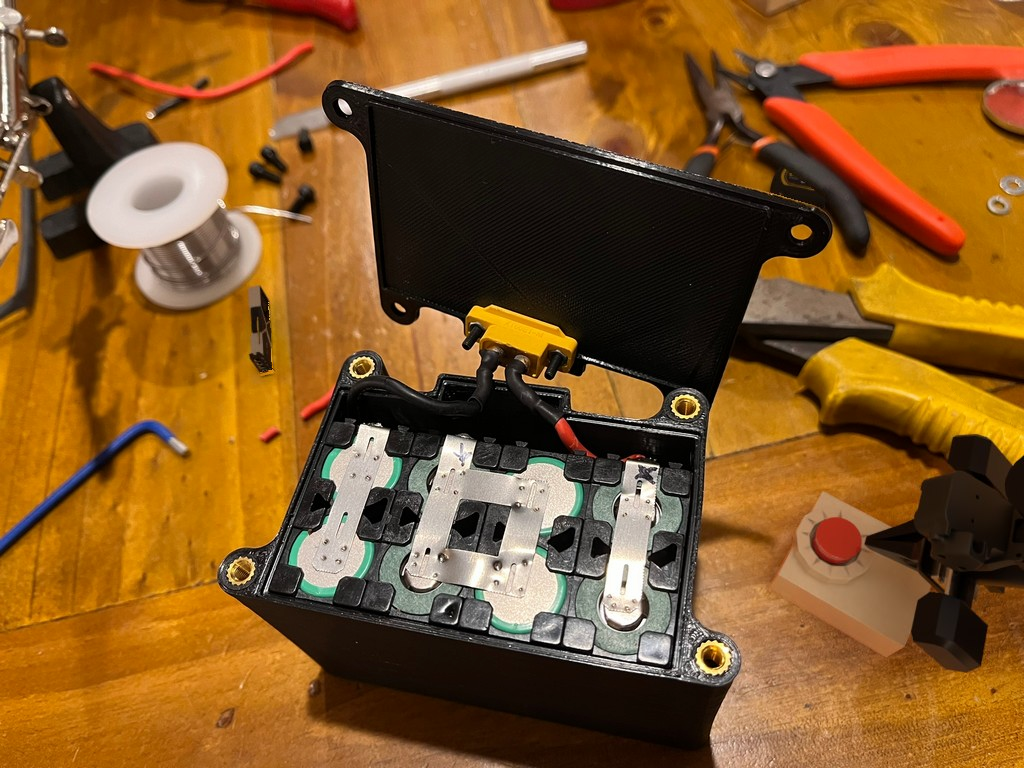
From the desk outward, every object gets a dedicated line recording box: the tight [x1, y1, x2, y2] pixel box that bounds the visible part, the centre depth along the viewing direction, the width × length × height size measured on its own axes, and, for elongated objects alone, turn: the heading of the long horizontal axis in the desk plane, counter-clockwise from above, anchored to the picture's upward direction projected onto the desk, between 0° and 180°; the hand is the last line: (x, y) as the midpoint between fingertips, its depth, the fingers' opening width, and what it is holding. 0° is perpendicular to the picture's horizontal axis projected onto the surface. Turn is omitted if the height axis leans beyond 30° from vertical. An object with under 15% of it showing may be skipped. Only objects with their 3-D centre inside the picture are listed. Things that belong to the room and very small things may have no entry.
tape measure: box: [769, 166, 827, 211], centre depth 100 cm, size 7×7×4 cm
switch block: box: [768, 491, 932, 658], centre depth 74 cm, size 12×10×7 cm
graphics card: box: [248, 284, 275, 373], centre depth 98 cm, size 12×3×5 cm, turn 12°
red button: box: [812, 517, 862, 564], centre depth 72 cm, size 4×4×2 cm
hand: (867, 542), depth 70 cm, fingers closed
